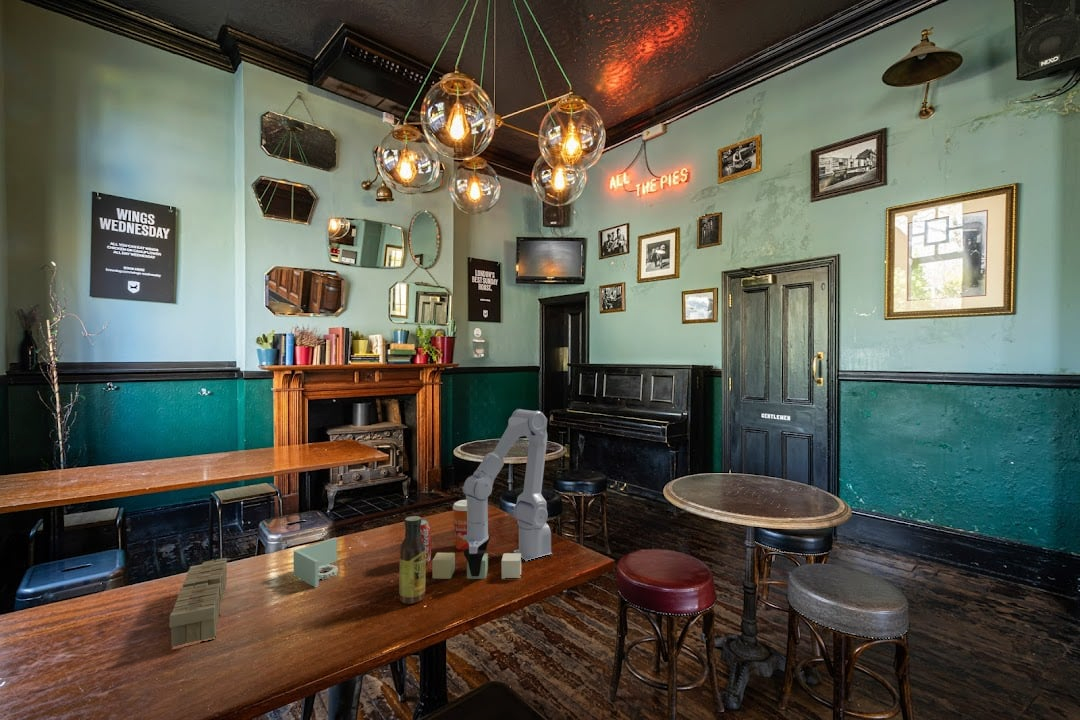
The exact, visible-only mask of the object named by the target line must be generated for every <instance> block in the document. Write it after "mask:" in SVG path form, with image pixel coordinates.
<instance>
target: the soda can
mask: <svg viewBox="0 0 1080 720" xmlns="http://www.w3.org/2000/svg"><path fill="white" fill-rule="evenodd" d="M431 528H432V527H431V525H430V524H429V520H428V519H427V518H421V537H422V540H423V543H424V546H425V549H426V560H425V562H426V564H427V563H428V562H430V560H431V554H432V547H431V546H432V531H431V530H432V529H431Z"/></svg>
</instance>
